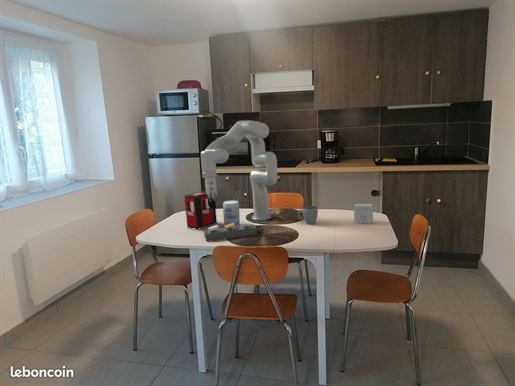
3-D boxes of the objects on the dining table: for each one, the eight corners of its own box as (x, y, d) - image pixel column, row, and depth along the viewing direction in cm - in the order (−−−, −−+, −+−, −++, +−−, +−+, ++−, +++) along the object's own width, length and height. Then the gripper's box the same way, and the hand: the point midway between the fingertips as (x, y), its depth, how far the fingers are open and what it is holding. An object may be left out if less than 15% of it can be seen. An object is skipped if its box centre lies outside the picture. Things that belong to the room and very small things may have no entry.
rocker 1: (217, 226, 212) (217, 224, 212) (218, 228, 209) (218, 226, 208) (208, 229, 211) (208, 227, 211) (209, 231, 208) (209, 229, 207)
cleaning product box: (206, 221, 247) (204, 190, 243) (216, 223, 241) (214, 191, 237) (187, 228, 234) (184, 195, 230) (197, 229, 228) (194, 197, 225)
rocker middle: (233, 224, 214) (233, 222, 214) (235, 226, 211) (234, 224, 211) (225, 227, 213) (224, 225, 213) (226, 229, 210) (225, 227, 210)
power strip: (261, 229, 222) (261, 221, 221) (265, 233, 214) (265, 225, 213) (204, 237, 213) (203, 228, 212) (206, 241, 206) (205, 232, 205)
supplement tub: (226, 228, 227) (224, 204, 225) (222, 224, 236) (221, 201, 234) (242, 226, 230) (240, 202, 227) (238, 222, 239) (236, 199, 236)
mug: (319, 221, 232) (318, 205, 230) (316, 225, 224) (316, 209, 222) (299, 221, 236) (298, 205, 234) (296, 225, 227) (296, 209, 225)
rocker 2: (249, 224, 217) (249, 222, 217) (251, 226, 213) (251, 224, 213) (240, 223, 215) (240, 221, 215) (242, 225, 212) (242, 223, 212)
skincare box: (372, 220, 227) (372, 203, 225) (373, 223, 221) (373, 206, 219) (354, 220, 230) (354, 203, 228) (354, 223, 224) (354, 206, 222)
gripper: (219, 175, 197) (221, 210, 200) (213, 171, 213) (216, 203, 217) (204, 176, 195) (207, 211, 198) (200, 172, 211) (203, 204, 215)
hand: (212, 207), depth 207 cm, fingers open, 5 cm apart
